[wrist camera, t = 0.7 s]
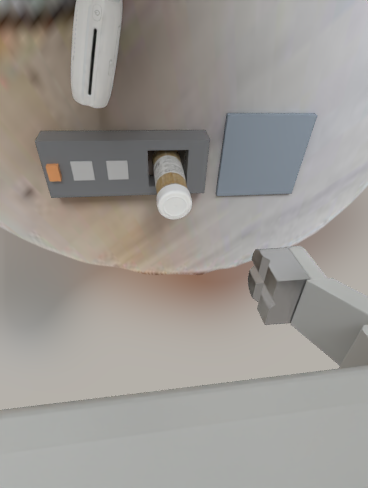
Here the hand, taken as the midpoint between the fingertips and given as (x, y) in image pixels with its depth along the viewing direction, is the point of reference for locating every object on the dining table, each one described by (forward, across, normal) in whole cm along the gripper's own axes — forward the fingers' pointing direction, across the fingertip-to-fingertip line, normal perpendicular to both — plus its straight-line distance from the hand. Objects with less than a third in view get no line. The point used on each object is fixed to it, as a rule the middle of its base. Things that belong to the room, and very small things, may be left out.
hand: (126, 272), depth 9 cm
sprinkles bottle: (+40, -5, +11) cm, 42 cm away
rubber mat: (+40, -21, +11) cm, 47 cm away
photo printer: (+39, +3, -5) cm, 39 cm away
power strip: (+40, +1, +11) cm, 42 cm away
